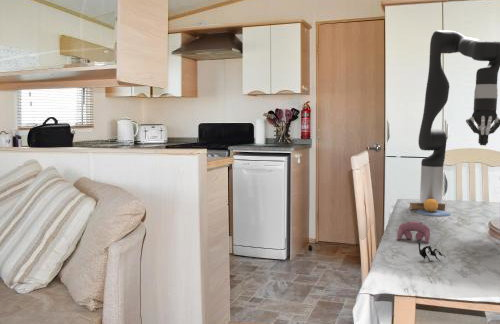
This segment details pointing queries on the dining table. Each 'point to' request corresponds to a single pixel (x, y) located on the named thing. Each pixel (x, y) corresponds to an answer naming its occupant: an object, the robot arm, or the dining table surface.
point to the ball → (430, 205)
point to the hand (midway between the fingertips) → (482, 145)
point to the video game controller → (414, 226)
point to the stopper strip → (421, 206)
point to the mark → (433, 213)
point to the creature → (424, 254)
